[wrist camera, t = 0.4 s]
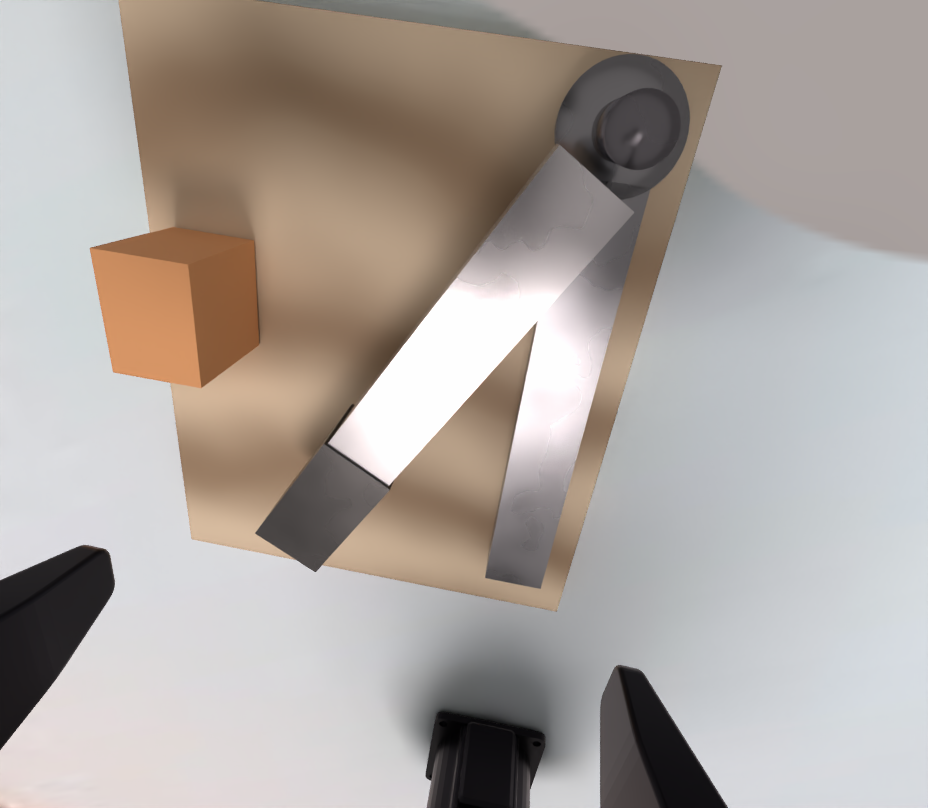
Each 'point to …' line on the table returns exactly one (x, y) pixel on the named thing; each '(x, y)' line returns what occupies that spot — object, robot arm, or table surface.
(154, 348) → the tan rectangular block
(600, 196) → the tongs upper
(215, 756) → the table surface
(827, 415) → the table surface
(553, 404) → the tongs lower
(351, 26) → the serving board
